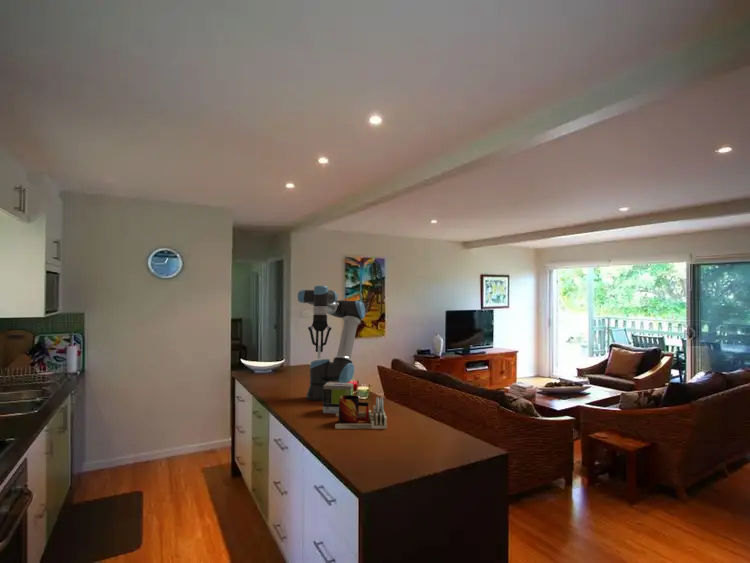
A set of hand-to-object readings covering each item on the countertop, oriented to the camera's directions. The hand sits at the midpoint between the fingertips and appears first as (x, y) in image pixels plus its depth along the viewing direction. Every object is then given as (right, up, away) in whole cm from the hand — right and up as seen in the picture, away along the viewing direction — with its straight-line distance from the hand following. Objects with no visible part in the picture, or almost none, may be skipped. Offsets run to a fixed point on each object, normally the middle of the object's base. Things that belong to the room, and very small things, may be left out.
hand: (319, 358), depth 227 cm
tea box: (+10, -29, -1) cm, 31 cm away
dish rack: (+23, -28, -20) cm, 41 cm away
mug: (+19, -28, -20) cm, 39 cm away
